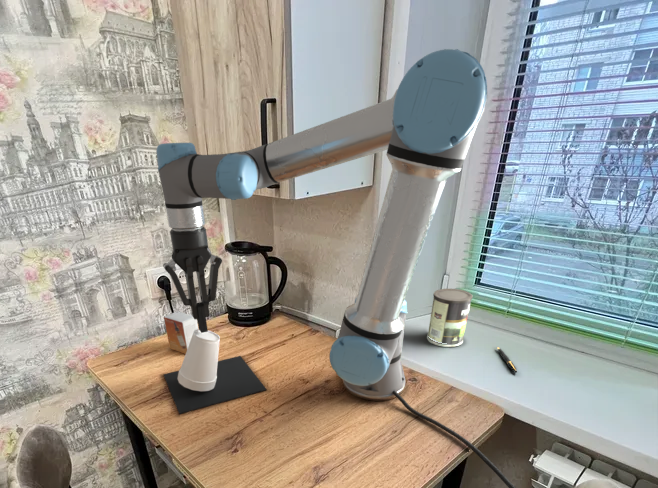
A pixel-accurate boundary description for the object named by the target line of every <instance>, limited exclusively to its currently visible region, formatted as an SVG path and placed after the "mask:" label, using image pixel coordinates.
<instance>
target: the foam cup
mask: <svg viewBox="0 0 658 488" xmlns="http://www.w3.org/2000/svg"><path fill="white" fill-rule="evenodd" d="M220 339H221V336H220V335H219V334H217V333H216V332H214V331H212V330H209V329H208V332H203V333H201V331H200V330H199V328H198V330H195V331H194V333H193V335H192V338H191V341H190V343H189V346H188V349H187V352H186V354H185V355H184V358H183V360H182V363H181V366H180V368H179V370H178V371H179V373H178V378H177V379H178V381H179V383H180V384H181V385H182V386H184V387H186V388H188V389H191V390H195V391H209V390H211V389H213V388H214V386H215V383H216V379H217V376H216V375H217V364H218V361H219V352H220V342H221V340H220Z"/></svg>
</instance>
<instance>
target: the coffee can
mask: <svg viewBox="0 0 658 488" xmlns="http://www.w3.org/2000/svg"><path fill="white" fill-rule="evenodd" d="M432 298H433V299H432V305H431V312H430V318H429V324H428V329H427V330H428V331H427V336H426V339H427V341H428V342H429V343H430V344H433V345H435V346H439V347H444V348H453V347H459V346H460V345H463V343H464V336H465V331H466V327H467V321H468V317H469V313H470V309H471V308H470V307H471V303H472V300H473V294H472V293H470V292H469V291H466V290H464V289H459V288H440V289H437V290H435V291H434V292H433V297H432ZM428 336H429V337H430V338H432V339H434V340H436V341H438V342H442V343H447V344H442V343H438V342H435V341H433V340H431V339H430V338H429V337H428Z"/></svg>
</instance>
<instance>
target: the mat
mask: <svg viewBox="0 0 658 488" xmlns="http://www.w3.org/2000/svg"><path fill="white" fill-rule="evenodd" d="M178 373H179V370H176V371H175V370H174V371H172V372H167V373H163V378H164V380H165V383H166V385H167V387H168V391H169V393H170V395H171V399H172V400H173V402H174V405H175V407H176V410H177V412H178V415H182V414H186V413H191V412H194V411H197V410H201V409H205V408H208V407H211V406H216V405H219V404H222V403H227V402H230V401H234V400H237V399H241V398H244V397H248V396H252V395H255V394H258V393H262V392H266V391H268V390H267V387H265V385H264V384H263V383H262V381H261V380H260V379H259V378H258V376H257V375H256V374H255V372H254V371H253V370H252V369H251V367H250V366H249V364H248V363H247V362H246V361H245V360H244V358H243V357H242V356H241V355H238V356H234V357H230V358H226V359H222V360H218V364H217V375H216V376H217V379H216V383H215V386H214V388H213V389H211V390H209V391H195V390H191V389H188V388H186V387H184V386H182V385H181V384H180V383H179V381H178V379H177V378H178Z"/></svg>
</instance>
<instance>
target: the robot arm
mask: <svg viewBox="0 0 658 488" xmlns="http://www.w3.org/2000/svg"><path fill="white" fill-rule="evenodd" d="M487 81H488V80H487V76H486V73H485V70H484V68H483V66H482V64H481V63H480V62H479V61H478V59H477V58H476V57H475V56H473V55H472V54H470V52H468V51H462V50H460V49H457V48H456V49H450V48H448V49H447V48H443V49H440V50H435V51H433V52H431V53H428V54H426V55H425V56H423V57H422V58H420V59H419V60H417V61H416V62H415V63H414V64H413V65H412V66H411V67H410V68H409V69H408V71H407V72H406V73H405V74H404V76H403V77H402V79H401V80H400V83H399V84H398V87H397V89H396V90H395V92H394V94H393V96H392V97H391V98H389V99H386V100H383V101H381V102H378V103H375V104H373V105H370V106H367V107H365V108H362V109H359V110H356V111H354V112H353V111H352V112H351V113H348V114H345V115H343V116H339V117H337V118H334V119H332V120H329V121H327V122H324V123H320V124H317V125H315V126H313V127H310V128H307V129H305V130H302V131H299V132H296V133H294V134H293V133H292V134H291V135H288V136H286V137H283V138H280V139H277V140H273V141H271V142H268V143H266V144H263V145H260V146H258V147H254V148H252V149H247V150H243V151H236V152H229V153H227V152H226V153H217V154H215V153H214V154H213V153H212V154H199V153H197V150H196V145H195V144H194V143H193V142H168V143H160V144H158V145H157V146H156V150H155V151H156V160H157V172H158V175H159V179H160V184H161V189H162V194H163V199H164V205H165V212H166V217H167V218H166V219H167V223H168V228H170V231H169V235H170V241H171V246H172V253H171V259H170V260H169V261H168V262H164V263H163V264H162V267H163V269H164V270H165V272H166V273H168V275H169V276H170V278H171V281H172V283H173V285H174V287H175V290H176V292H177V294H178V296H179V299H180V301H181V303H182V304H183V305H184V306H186V307H190V311H191V315H192V316H193V318H194V319H197V324H198V329H199V330H200V331H201V333H203V332H208V330H209V329H208V323H207V318H209V317H210V315H211V313H210V309H209V308H210V306H209V305H210V302H213V301H214V302H215V300H216V299H217V298H216V297H217V287H218V280H219V270H220V268H221V265H222V263H223V259H222V258H221V257H220V256H219V255H215V254H213V253H212V251H211V249H210V248H209V243H208V235H207V229H206V227H204V226H205V224H206V221H205V212H204V204H203V199H206V198H208V199H222V200H223V199H225V200H226V199H227V200H231V201H236V200H247V199H250V198H251V197H252V196H253V195H254V192H256V191H257V190H261V189H265V188H268V187H270V186H273V185H277V184H279V183H282V182H285V181H289V180H292V179H295V178H299V177H302V176H304V175H309V174H312V173H315V172H318V171H322V170H325V169H329V168H331V167H335V166H338V165H341V164H345V163H348V162H351V161H354V160H358V159H362V158H364V157H368V156H371V155H373V154H377V153H381V152H384V151H386V154H385V155H386V157H387V159H388V161H389V163H390V165H391V172H390V176H389V179H388V183H387V186H386V190H385V194H384V197H383V202H382V204H381V208H380V212H379V216H378V220H377V223H376V227H375V231H374V234H373V238H372V241H371V244H370V249H369V251H368V252H369V253H368V255H367V259H366V263H365V267H364V270H363V274H362V277H361V281H360V285H359V288H358V292H357V296H356V297H355V299H354V303H352V304H350V305H348V306H347V307H346V308H345V310H344V314H343V318H342V321H341V325H340V327H339V328H340V329H339V333H338V336H337V338H336V339H335V340H334V342H333V343H332V344H331V346H330V351H329V355H328V356H329V363H330V366H331V368H332V370H333V371H334V372H335V373H336V375H337V376H338V377H339V378H340V379H342V385H343V387H344V389H345V390H346V392H348V393H349V394H350V395H352V396H354V397H357V398H359V399H362V400H367V401H378V402H380V401H388V400H389V401H390V400H392V399H395V398H396V399H397V400H398V401H399V402H400V403H401V404H402V405H403V406H404V407H405V409H407V410H408V411H409V412H410V413H412V414H413V415H415V416H416V417H419V418H421V419H422V420H424V421H427V422H428V423H431V424H432V425H434V426H436V427H438V428H439V429H440V430H443V431H445V432H447V433H448V434H449V435H451V436H452V437H454V438H455V439H457V440H458V441H460V442H462V444H464V445H465V446H467V447H468V448H469V449H470V450H471V451H472V452H474V454H476V455H477V456H478V457H479V459H481V461H483V462H484V463H485V464H486V465H487V466H488V467H489V468H490V469H491V470H492V471H493V473H495V474H496V475H497V477H499V479H500V480H501V481H502V482H503V483H504V484H505V485H506V487H507V488H516V486H515V485H514V484H513V483H512V482H511V481H510V480H509V479H508V478H507V476H506V475H505V474H503V472H502V471H501V470H500V469H499V468H498V467H497V466H496V465H495V464H494V463H493V462H492V461H491V460H490V459H489V458H488V457H487V456H486V455H485V454H484V453H482V451H480V450H479V449H478V448H477V447H476V446H475V445H474V444H472V443H471V442H470V441H469V440H467V439H466V438H464V437H463V436H462V435H460V434H459V433H458V432H456V431H454V430H452V429H451V428H449V427H448V426H445V424H442V423H441V422H439V421H437V420H435V419H433V418H432V417H429V416H427V415H424V414H423V413H421V412H419V411H417V410H415V409H414V408H413V407H411V405H409V403H408V402H407V400H405V399H404V398H403V397H402V396H401V395H402V394H403V392H404V391H405V388H406V376H405V371H404V368H403V363H402V351H403V344H404V335H405V327H406V326H405V325H406V319H407V314H408V302H407V300H406V296H407V293H408V290H409V287H410V284H411V282H412V279H413V276H414V273H415V271H416V268H417V264H418V262H419V260H420V257H421V253H422V251H423V248H424V245H425V242H426V240H427V236H428V234H429V230H430V229H431V225H432V223H433V219H434V217H435V213H436V211H437V208H438V205H439V202H440V199H441V196H442V194H443V190H444V189H445V185H446V182H447V180H449V179H450V178H452V177H453V176H454V175H455V174H457V173H459V172H460V171H461V170H462V167H463V165H464V163H465V159H466V157H467V154H468V151H469V148H470V146H471V143H472V140H473V137H474V135H475V132H476V129H477V127H478V124H479V122H480V121H481V119H482V118H483V115H484V113H485V109H486V107H487V101H488V82H487ZM208 263H210V268H209V278H208V289H207V283H206V273H205V270H206V267H207V265H208ZM176 266H178V268H180V270H182V271H183V273H184V276H185V283H186V289H187V294H188V297H187V295H186V293H185V290H184V288H183V286H182V283H181V282H180V279H179V277H178V274H177V272H176V270H177V267H176ZM194 273H196V279H197V285H198V292H199V298H200V301H199V302H197V295H196V287H195V281H194Z"/></svg>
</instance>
